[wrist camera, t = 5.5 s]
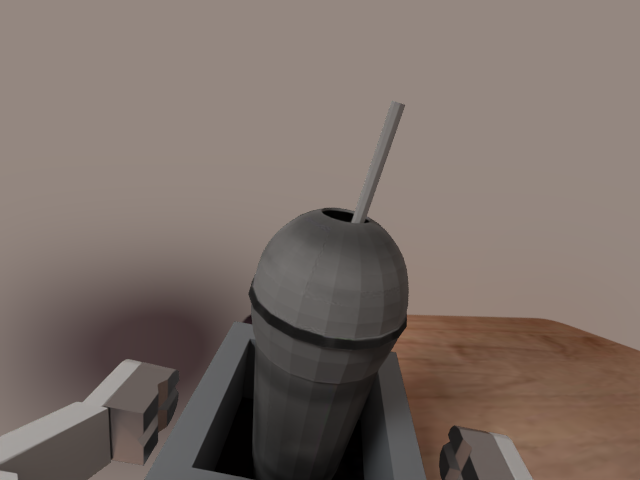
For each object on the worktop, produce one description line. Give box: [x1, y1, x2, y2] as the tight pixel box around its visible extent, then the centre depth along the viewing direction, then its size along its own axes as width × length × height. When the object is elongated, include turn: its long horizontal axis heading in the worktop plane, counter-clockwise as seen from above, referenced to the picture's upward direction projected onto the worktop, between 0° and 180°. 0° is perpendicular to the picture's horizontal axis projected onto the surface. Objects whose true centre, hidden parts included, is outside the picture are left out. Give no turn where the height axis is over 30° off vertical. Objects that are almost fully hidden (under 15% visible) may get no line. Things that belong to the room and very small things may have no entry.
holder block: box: [144, 322, 426, 480], centre depth 18 cm, size 12×12×5 cm
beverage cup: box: [249, 101, 408, 480], centre depth 15 cm, size 7×7×20 cm
